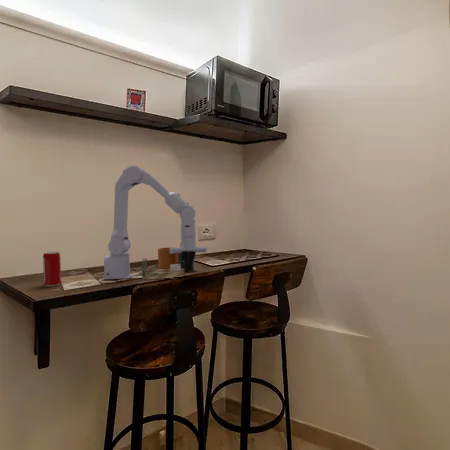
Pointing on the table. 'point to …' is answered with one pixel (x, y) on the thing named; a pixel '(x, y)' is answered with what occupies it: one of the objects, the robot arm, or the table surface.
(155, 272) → the gauge bed
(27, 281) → the table surface
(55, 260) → the soda can
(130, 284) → the table surface
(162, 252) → the mug
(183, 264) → the supplement bottle
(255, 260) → the table surface
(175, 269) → the carriage
